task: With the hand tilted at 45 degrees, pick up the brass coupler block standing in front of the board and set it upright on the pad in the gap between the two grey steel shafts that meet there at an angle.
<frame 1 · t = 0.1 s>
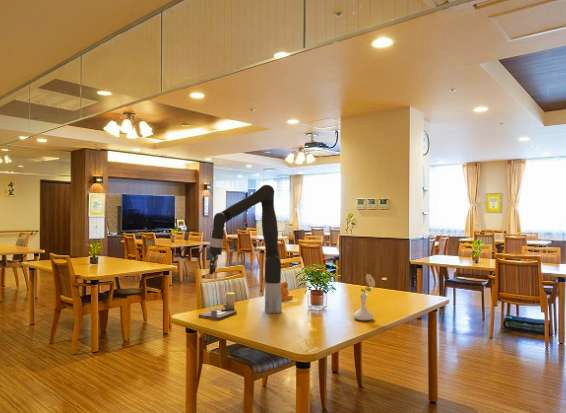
hand: (212, 273, 246), 22 cm above the table, tool pointing down, fingers open, 8 cm apart
bracket: (283, 299, 283), on the table
driven shaft: (214, 312, 230), on the coupling base, point 2 cm above the table
flower in vase: (364, 319, 232), on the table
coupling base: (217, 315, 236), on the table
coupler: (230, 310, 250), on the table
drive shaft: (224, 307, 242), on the coupling base, point 2 cm above the table
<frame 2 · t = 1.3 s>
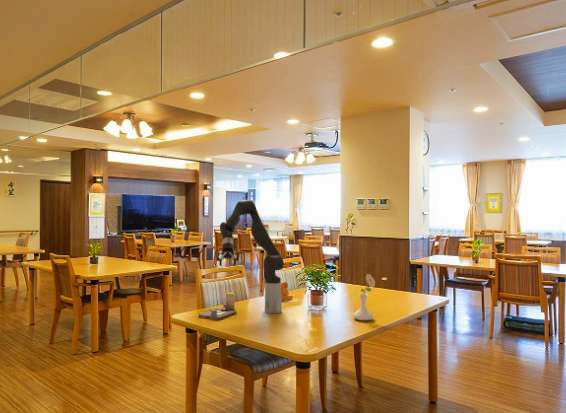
hand: (227, 265, 267), 25 cm above the table, tool tilted 45°, fingers open, 8 cm apart
nothing on the table moved.
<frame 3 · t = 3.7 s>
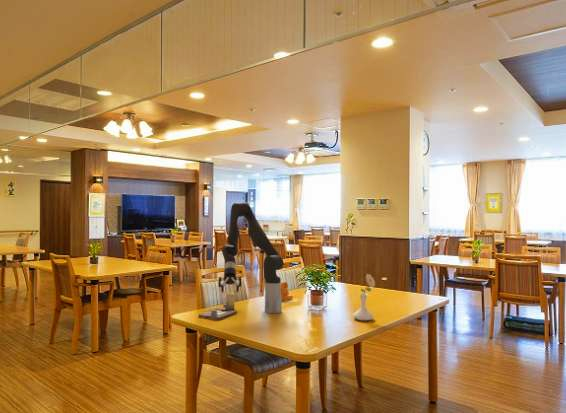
hand: (230, 291, 255), 10 cm above the table, tool tilted 45°, fingers open, 8 cm apart
nothing on the table moved.
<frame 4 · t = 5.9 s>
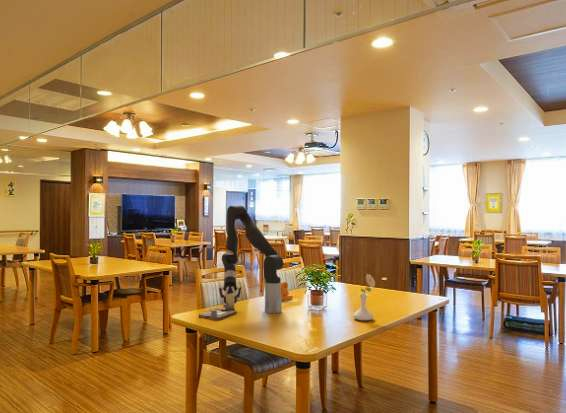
hand: (230, 302, 248), 5 cm above the table, tool tilted 45°, fingers closed on coupler, 5 cm apart
coupler: (230, 310, 250), on the table, touching gripper
everything else where it was.
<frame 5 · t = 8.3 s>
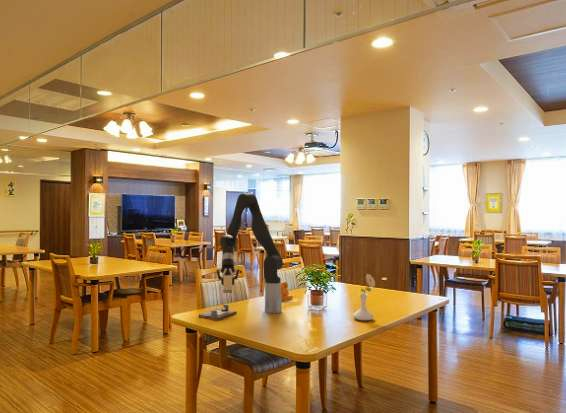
hand: (227, 284, 245), 16 cm above the table, tool tilted 45°, fingers closed on coupler, 5 cm apart
coupler: (227, 291, 247), point 11 cm above the table, touching gripper
everything else where it was.
when the fingers open (8 cm above the table, at t = 11.1 s): coupler drops 1 cm, resting on coupling base.
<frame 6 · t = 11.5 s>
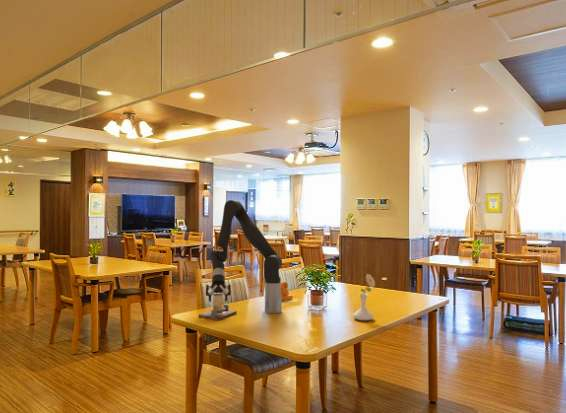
hand: (218, 301, 235), 8 cm above the table, tool tilted 45°, fingers open, 8 cm apart
coupler: (217, 312, 236), point 2 cm above the table, touching coupling base
everything else where it was.
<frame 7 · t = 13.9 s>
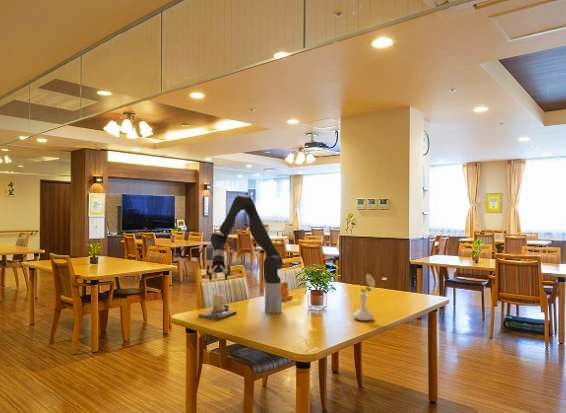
hand: (218, 280, 248), 18 cm above the table, tool tilted 45°, fingers open, 8 cm apart
nothing on the table moved.
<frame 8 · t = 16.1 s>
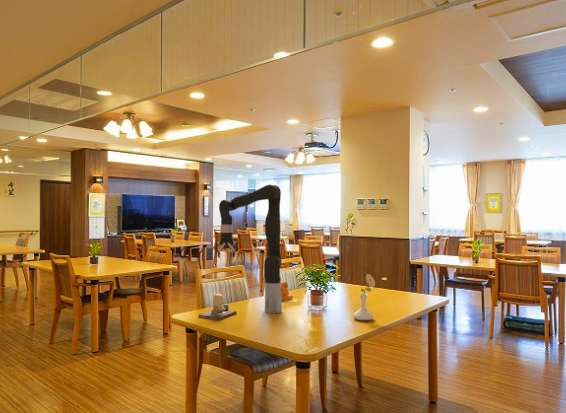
hand: (226, 257, 260), 30 cm above the table, tool pointing down, fingers open, 8 cm apart
nothing on the table moved.
at the end: coupler 0.1 cm off-centre on the coupling base, point 1.7 cm above the coupling base's base; coupler tilted 0°; the gripper is holding nothing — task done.
